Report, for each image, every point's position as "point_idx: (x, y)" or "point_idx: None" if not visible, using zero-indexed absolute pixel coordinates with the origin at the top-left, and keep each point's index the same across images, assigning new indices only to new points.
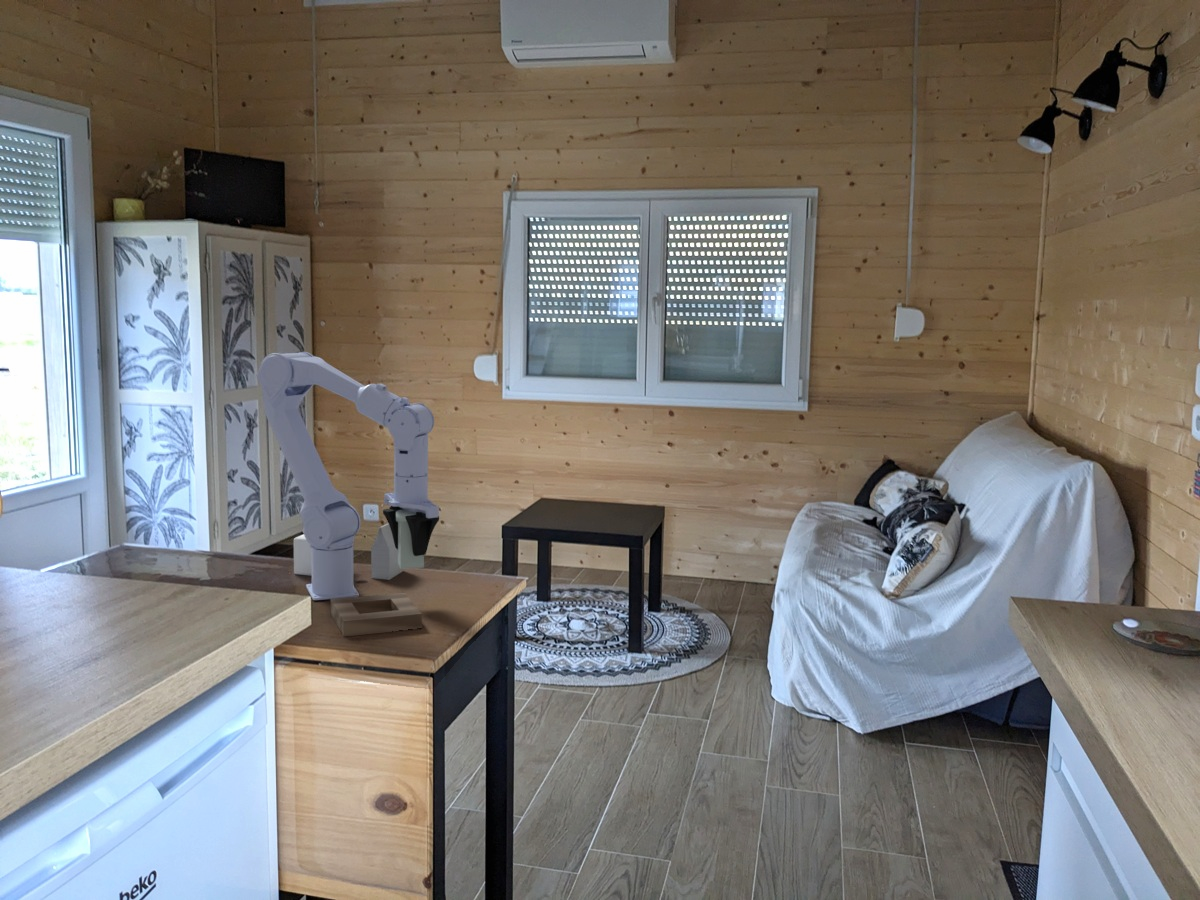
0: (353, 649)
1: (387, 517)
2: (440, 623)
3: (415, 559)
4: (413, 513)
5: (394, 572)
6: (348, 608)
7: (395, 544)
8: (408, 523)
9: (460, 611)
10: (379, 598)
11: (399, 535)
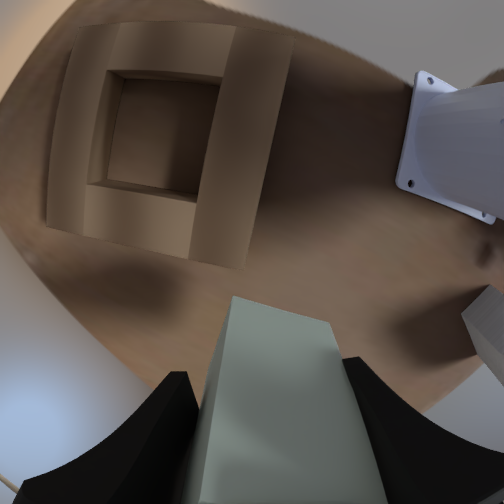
0: (33, 52)
1: (463, 462)
2: (86, 269)
3: (211, 369)
4: None
5: (472, 334)
6: (168, 51)
7: (358, 367)
8: (95, 496)
9: (150, 345)
10: (222, 173)
11: (288, 418)
